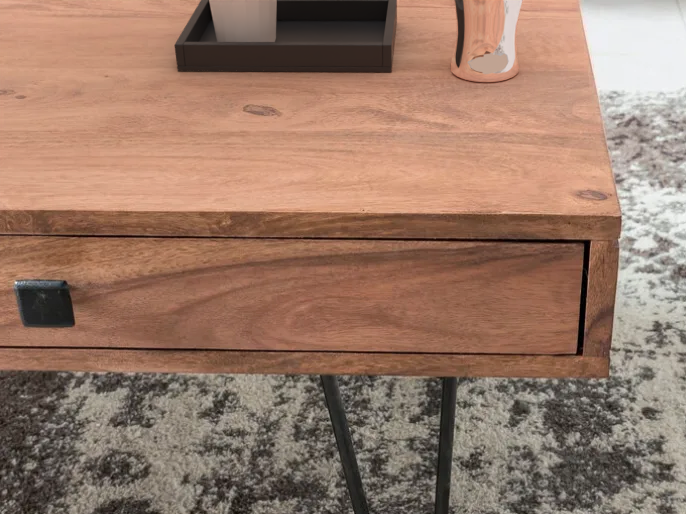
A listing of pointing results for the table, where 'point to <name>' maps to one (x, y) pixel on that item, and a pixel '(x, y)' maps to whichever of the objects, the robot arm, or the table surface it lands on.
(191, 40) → the tray
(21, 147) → the table surface
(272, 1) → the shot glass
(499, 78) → the beer glass
